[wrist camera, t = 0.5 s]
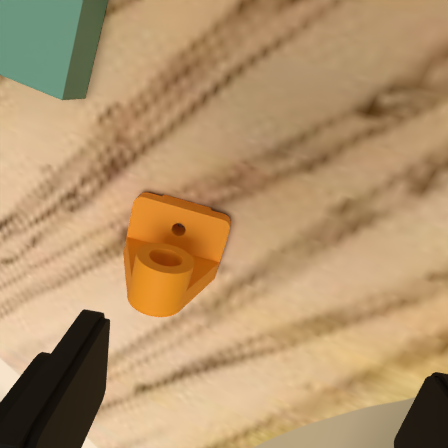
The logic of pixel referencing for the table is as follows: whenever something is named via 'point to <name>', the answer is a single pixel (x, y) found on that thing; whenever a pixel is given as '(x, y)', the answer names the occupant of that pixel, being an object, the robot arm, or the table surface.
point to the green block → (50, 44)
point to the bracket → (171, 252)
